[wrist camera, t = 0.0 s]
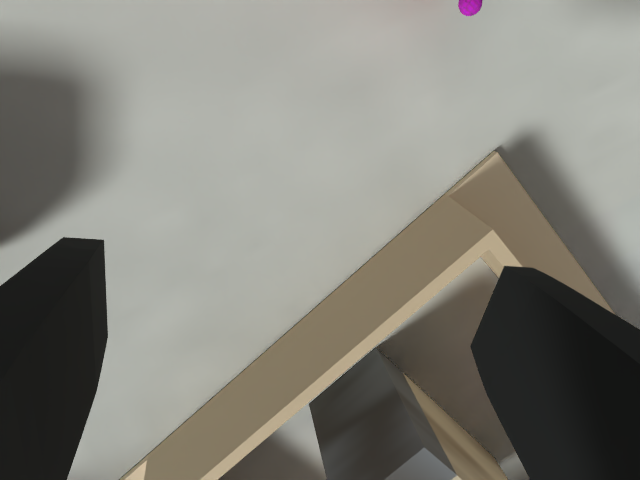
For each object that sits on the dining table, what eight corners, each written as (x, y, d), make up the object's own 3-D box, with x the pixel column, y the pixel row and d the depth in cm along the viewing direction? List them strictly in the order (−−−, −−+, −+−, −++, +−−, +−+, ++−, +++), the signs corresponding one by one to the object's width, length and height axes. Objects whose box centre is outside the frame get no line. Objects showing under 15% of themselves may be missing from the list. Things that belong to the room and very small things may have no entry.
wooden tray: (349, 626, 30) (367, 709, 26) (109, 489, 23) (88, 574, 20) (664, 385, 27) (733, 440, 24) (493, 150, 21) (553, 177, 17)
